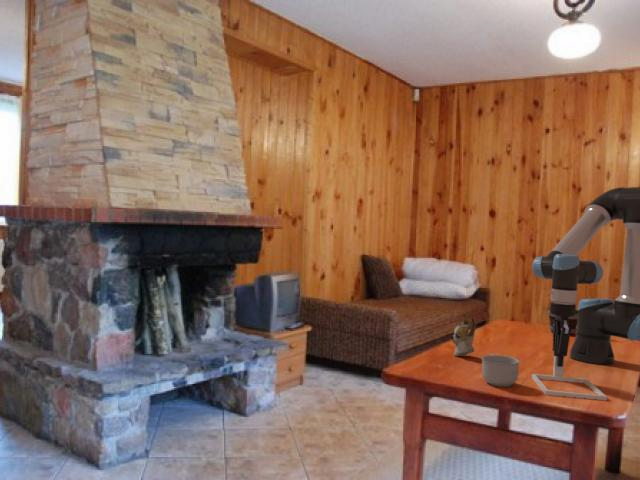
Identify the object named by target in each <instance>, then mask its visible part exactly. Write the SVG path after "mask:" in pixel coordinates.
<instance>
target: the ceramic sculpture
mask: <svg viewBox="0 0 640 480" xmlns="http://www.w3.org/2000/svg"><path fill="white" fill-rule="evenodd" d="M462 316H463V319H462V322H461V323H459V324H457V325H456V326H455V327H454V329H453V335H451V336H450V337H451V341H452V343H453V344H454V345H455V349H454V353H453V356H454V357H461V356H466V355H469V354H470V353H474V352H475V349H474V346H473V341H474V339H475V332H476V323H475V320H474V318H473V317H472V318H471V319H470V321H469V320H468V317H467V315H466V314H465V313H463V314H462Z"/></svg>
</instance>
